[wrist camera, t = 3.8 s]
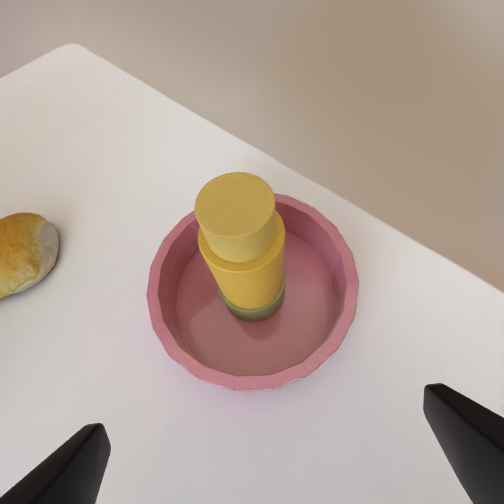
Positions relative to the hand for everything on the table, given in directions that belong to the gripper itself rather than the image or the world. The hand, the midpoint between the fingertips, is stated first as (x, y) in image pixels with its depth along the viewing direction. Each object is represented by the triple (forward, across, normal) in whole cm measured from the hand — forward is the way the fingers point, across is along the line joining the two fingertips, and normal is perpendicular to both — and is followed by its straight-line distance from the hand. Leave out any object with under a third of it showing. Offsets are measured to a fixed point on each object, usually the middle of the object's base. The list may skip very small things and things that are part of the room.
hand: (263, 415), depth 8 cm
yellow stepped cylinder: (+15, 0, +3) cm, 15 cm away
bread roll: (+20, +23, -1) cm, 30 cm away
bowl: (+15, 0, +4) cm, 16 cm away
